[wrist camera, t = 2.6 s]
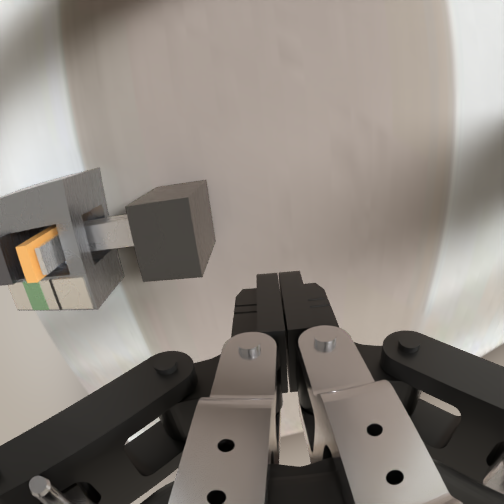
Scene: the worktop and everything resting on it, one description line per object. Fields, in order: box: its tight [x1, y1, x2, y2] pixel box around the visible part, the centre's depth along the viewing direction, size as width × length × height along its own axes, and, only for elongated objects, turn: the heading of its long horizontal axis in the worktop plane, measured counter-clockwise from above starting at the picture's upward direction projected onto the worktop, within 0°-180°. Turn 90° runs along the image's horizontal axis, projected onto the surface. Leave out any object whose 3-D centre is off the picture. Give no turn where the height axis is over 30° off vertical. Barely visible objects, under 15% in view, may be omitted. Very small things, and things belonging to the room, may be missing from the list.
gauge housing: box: [0, 168, 124, 310], centre depth 23 cm, size 10×10×7 cm
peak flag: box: [15, 224, 58, 283], centre depth 21 cm, size 1×3×7 cm, turn 6°
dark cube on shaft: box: [35, 180, 216, 282], centre depth 22 cm, size 12×5×8 cm, turn 96°
